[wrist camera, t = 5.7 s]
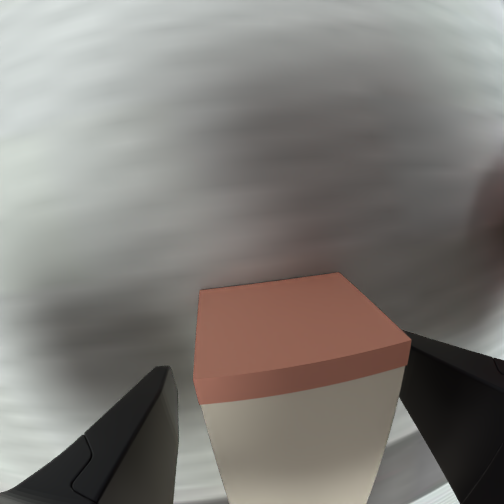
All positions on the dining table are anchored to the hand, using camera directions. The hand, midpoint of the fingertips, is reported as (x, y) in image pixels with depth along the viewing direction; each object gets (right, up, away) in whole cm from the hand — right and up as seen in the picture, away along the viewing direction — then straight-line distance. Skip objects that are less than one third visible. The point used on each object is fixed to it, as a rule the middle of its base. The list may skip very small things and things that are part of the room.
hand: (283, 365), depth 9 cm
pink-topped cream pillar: (0, -4, +2) cm, 5 cm away
